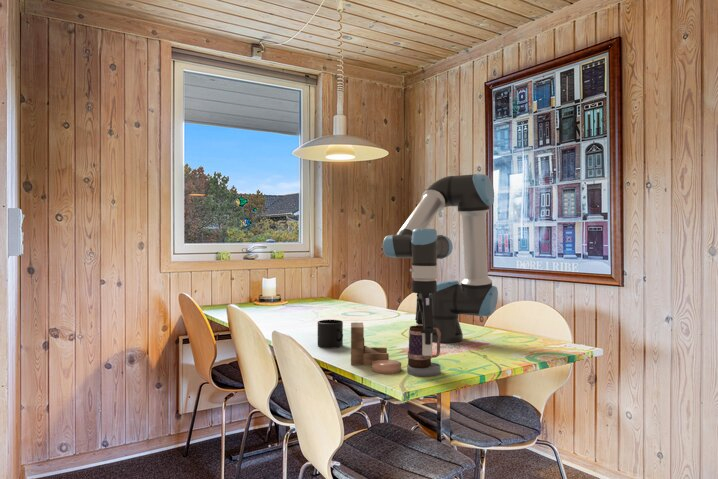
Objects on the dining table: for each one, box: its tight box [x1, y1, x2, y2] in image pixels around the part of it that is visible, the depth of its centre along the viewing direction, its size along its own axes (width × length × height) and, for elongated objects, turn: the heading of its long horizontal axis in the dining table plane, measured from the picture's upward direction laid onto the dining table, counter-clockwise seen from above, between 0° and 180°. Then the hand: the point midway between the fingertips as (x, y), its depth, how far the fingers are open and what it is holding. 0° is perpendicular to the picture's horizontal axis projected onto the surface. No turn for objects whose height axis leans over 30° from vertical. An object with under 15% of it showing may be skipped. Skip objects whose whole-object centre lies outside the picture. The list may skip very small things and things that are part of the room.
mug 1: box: [317, 319, 344, 349], centre depth 187 cm, size 9×12×9 cm
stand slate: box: [406, 361, 441, 378], centre depth 151 cm, size 10×10×2 cm
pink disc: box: [371, 359, 402, 375], centre depth 154 cm, size 9×9×2 cm
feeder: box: [350, 322, 390, 366], centre depth 164 cm, size 12×9×12 cm
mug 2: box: [407, 325, 441, 368], centre depth 150 cm, size 10×7×12 cm
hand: (423, 350), depth 151 cm, fingers open, 13 cm apart
